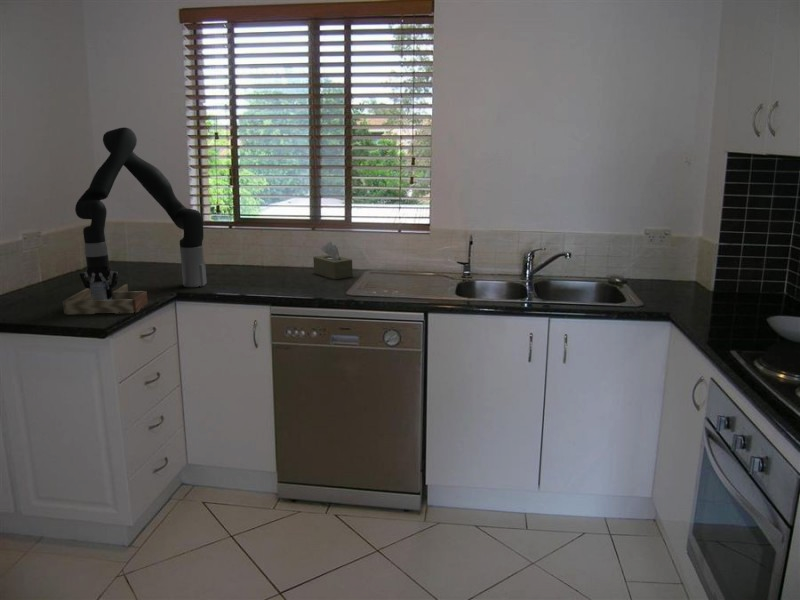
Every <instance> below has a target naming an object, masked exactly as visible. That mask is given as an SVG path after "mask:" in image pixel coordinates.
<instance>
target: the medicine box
mask: <svg viewBox="0 0 800 600" xmlns="http://www.w3.org/2000/svg"><path fill="white" fill-rule="evenodd" d="M109 280H110V281H111V278H109ZM90 285H91V292H92V300H113V296H112V297H111V298H110V299H107V293H106V286H105V283H104V282H102V281H95V282H94V283H90Z"/></svg>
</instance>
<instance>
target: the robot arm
mask: <svg viewBox="0 0 800 600" xmlns="http://www.w3.org/2000/svg"><path fill="white" fill-rule="evenodd" d="M102 136H103V137H102V142H103V146H104V147H105V149H106V150H107V151H108V152H109V155H108V157H107V158H106V160H105V161H104V162H103V163H102V165H101V166H99V168H98V169H97V171H96V172H95V173H94V176H93V177H92V179H91V182H90V184H89V187H88V188H87V190H85V191H84V192H83V194H82V195H81V196H80V198H78V200H77V202H76V204H75V209H74V210H75V214H76V216H77V217H78V218H79V219H82V220H91V221H90V225H88V226H84V228H83V230H82V232H83V241H84V255H85V262H86V267H87V269H86V271H83V272H79V277H80V279H81V282H82V284H83V286H84V289H86V288H89V289H90V290H91V285H90V284H91V283H94V282H95V281H102V282H104V283H105V286H106V293H107V299H110V298H111V297H112V298H113V296H112V292H113V288H116V286H117V283H118V279H119V274H120V273H119V271H117V270H116V271H113V270H111V267H110V263H109V262H110V261H109V255H108V254H109V253H108V246H107V243H106V235H105V228H106V227H105V226H106V221H107V220H106V219H107V208H106V205H105V204H104V202H103V200H105V199H107V198H108V197H109V195H110V192H111V190H112V188H113V186H114V183H115V181H116V179H117V177H118V175H119V173H120V172H121V170H122V168H123V166H124V167H125V168H126V170H128V172H129V173H130V174H131V175H132V176H133V177H134V178H135V179H136V180H137V181H138V182H139V184H140V185H141V186H142V188H143V189H144V190H146V192H147V193H148V194H149V195H150V196H151V197H152V198H153V199H154V200H155V201H156V202H157V204H159V206H160V207H162V209H164V211H165V212H166V213H167V215H168V216H169V218H170V219H171V221H172V222H173V223H174V224H175V226H176V227H177V228H179V229H181V230H183V237H182V238H181V239H180V240H179V252H180V263H181V273H182V283H183V287H184V288H198V287H199V286H200V287H205V285H207V283H208V282H207V281H208V280H207V271H206V269H207V268H206V262H205V260H204V251H203V240H204V220H203V216H202V214H201V212H200V211H198V210H197V209H195V208H193V209H192V208H187V206H185V205H183V203H182V202H181V201H180V200H178V198H177V197H176V195H175V193H174V190H173V187H172V184H171V183H170V180H169V179H168V178H167V177H166V176H165V175H164V174H163V173H162V171H160V169H159V168H157V167H156V166H154V164H151V163H149V162H147V161H146V160H144V159H142V158H141V157H139V156H138V155H136V153H135V152H134V151H135V150H134V149H135V148H136V146H137V140H138V139H137V136H136V134H135V132H134V131H133V130H132V129H131V128H129V127H119V128H114V129H111V130H108V131H106V132H105V133H104V134H103V135H102ZM109 276H110V277H111V279H110V278H109ZM88 277H89V278H90V280H89V278H88ZM109 279H110V280H109ZM91 295H92V292H91Z"/></svg>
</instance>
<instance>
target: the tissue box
mask: <svg viewBox="0 0 800 600" xmlns="http://www.w3.org/2000/svg"><path fill="white" fill-rule="evenodd" d="M320 249H321V250H322V252H324V255H317V256H313V273H314V274H315V275H319V276H322V277H325V278H327V279H332V280H340V279H341V280H342V279H345V278H346V279H347V278H352V277H353V259H351V258H347V257H342V256H340V254H339V250H338V247H337V246H336V245H333V243H332V242H331V241H329V242H328V243H326V244H325V245H323V247H321V248H320Z"/></svg>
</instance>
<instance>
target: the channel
mask: <svg viewBox="0 0 800 600" xmlns="http://www.w3.org/2000/svg"><path fill="white" fill-rule="evenodd" d="M147 292H148V291H145V290H139V291H138V290H137V291H136V290H134V291H133V290H132V291H129V288H128V284H127V283H125V284H123V285H122V286H120V287H119V288H117V289H115V290H112V300H93V299H92V295H91V290H90V289H89V288H84V289H82V290H81V291H79V292H77V293H75V294H73V295H71V296H70V297H68V298H65V299H64V300H63V301H62V306H63V307H62V308H63V315H64V314H66V315H96V314H95V313H115V314H135V313H138V312H140V311H141V310H142V309H143V308H145V307H146V306H147V305H148V304H149V303H148V302H149V301H148V293H147ZM146 304H147V305H146ZM145 305H146V306H145ZM144 306H145V307H144ZM141 308H142V309H141ZM140 309H141V310H140ZM119 312H120V313H119ZM134 312H135V313H134Z"/></svg>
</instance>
